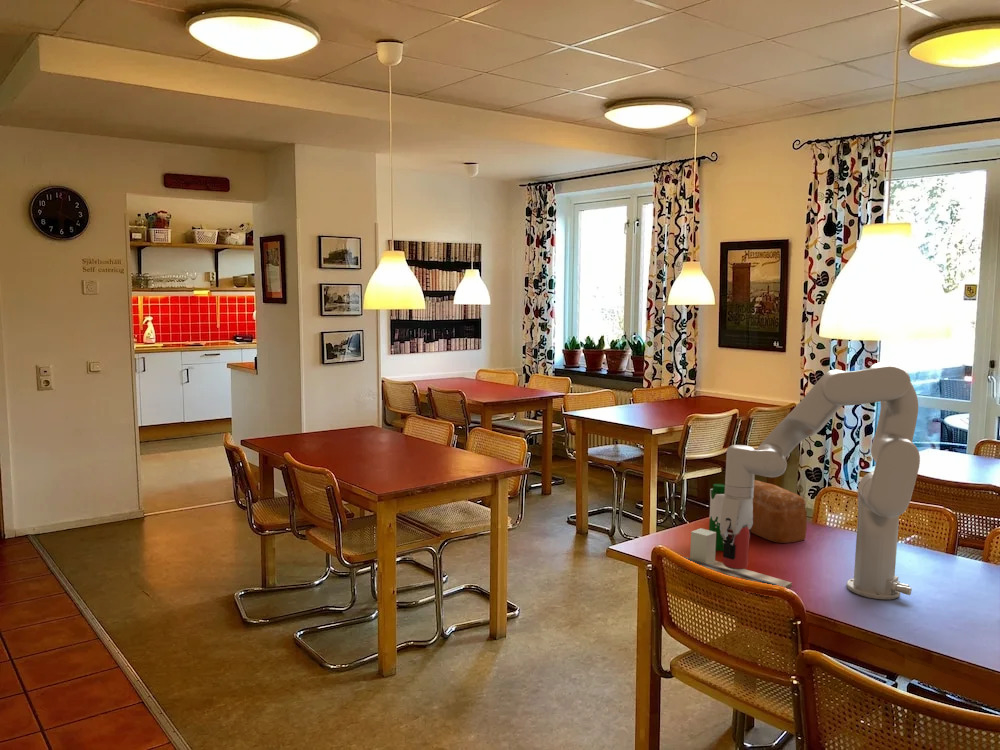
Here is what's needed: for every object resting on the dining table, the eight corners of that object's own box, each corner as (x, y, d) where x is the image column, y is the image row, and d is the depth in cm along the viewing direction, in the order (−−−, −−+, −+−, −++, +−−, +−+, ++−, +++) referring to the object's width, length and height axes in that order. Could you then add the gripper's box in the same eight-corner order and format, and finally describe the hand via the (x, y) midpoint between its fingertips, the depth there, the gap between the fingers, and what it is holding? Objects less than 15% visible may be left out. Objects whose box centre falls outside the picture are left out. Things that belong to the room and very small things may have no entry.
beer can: (729, 560, 213) (731, 518, 212) (751, 566, 209) (754, 523, 208) (718, 565, 209) (720, 523, 207) (740, 572, 204) (743, 528, 203)
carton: (714, 563, 216) (716, 532, 215) (705, 567, 212) (707, 535, 212) (699, 558, 219) (700, 528, 219) (689, 562, 216) (691, 531, 215)
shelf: (791, 586, 202) (792, 575, 202) (774, 596, 195) (774, 584, 195) (698, 559, 222) (698, 549, 222) (679, 567, 215) (679, 556, 215)
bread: (775, 545, 236) (778, 495, 235) (721, 521, 260) (723, 476, 259) (810, 540, 241) (813, 492, 240) (753, 518, 266) (756, 473, 264)
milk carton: (705, 545, 235) (708, 481, 233) (734, 545, 235) (738, 482, 233) (712, 554, 226) (715, 488, 224) (743, 555, 226) (746, 489, 224)
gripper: (742, 483, 215) (738, 545, 217) (710, 493, 203) (706, 558, 205) (767, 488, 210) (763, 551, 212) (735, 499, 198) (732, 566, 200)
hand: (735, 554), depth 208 cm, fingers closed on beer can, 6 cm apart
